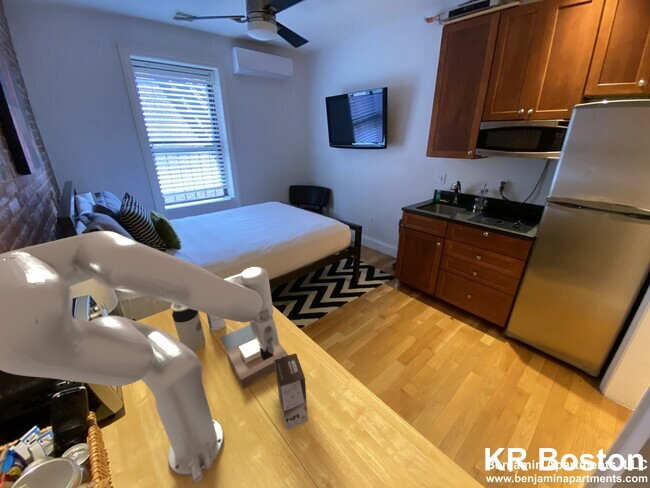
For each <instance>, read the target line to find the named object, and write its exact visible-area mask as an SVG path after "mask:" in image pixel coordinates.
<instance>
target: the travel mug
mask: <svg viewBox="0 0 650 488" xmlns="http://www.w3.org/2000/svg"><path fill="white" fill-rule="evenodd" d="M170 309H171V310H172V313H171V316H172V320H173V323H174V326H175V330H176V333H177V334H176V335H177V337H178V341H180V342H182V343H183V344H184V345H186V346H187V347H188V348H190V349H191V350H192V351H193V352H195V351H197V350H198V349H201V348H202V347H203V345H204V344H206V337H205V333H204V329H203V325H202V321H201V317H200V313H199V311H197V310H193V309H189V308H186V307H183V306H180V305H178V304H174V303H171V305H170Z"/></svg>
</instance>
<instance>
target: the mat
mask: <svg viewBox="0 0 650 488" xmlns="http://www.w3.org/2000/svg"><path fill="white" fill-rule="evenodd" d="M254 338H255V337H254V335H253V333H252V330H251V326H250V324H248V325H246V326H244V327H241V328H239V329H236V330H234V331H231V332H229V333H227V334H225V335H222V336H220V339H221V341H222V343H223V345H224V347H225V349H226V351H227V350H229V349H232V348H234V347H236V346H238V345H240V344H243V343H245V342H247V341H249V340H252V339H254Z"/></svg>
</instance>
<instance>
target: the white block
mask: <svg viewBox="0 0 650 488" xmlns="http://www.w3.org/2000/svg"><path fill="white" fill-rule="evenodd" d="M260 348H261V347H260V346H259V343H258V341H257V340H256V339H254V340H252V341H250V342H248V343H246V344H243V345H241V346H239V350H240V353H241V355H242V357H243V358H244V360H245V362H246V363H248V362H250V361H252V360H254V359H256V358H258V357H260V356H261V353H260Z"/></svg>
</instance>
